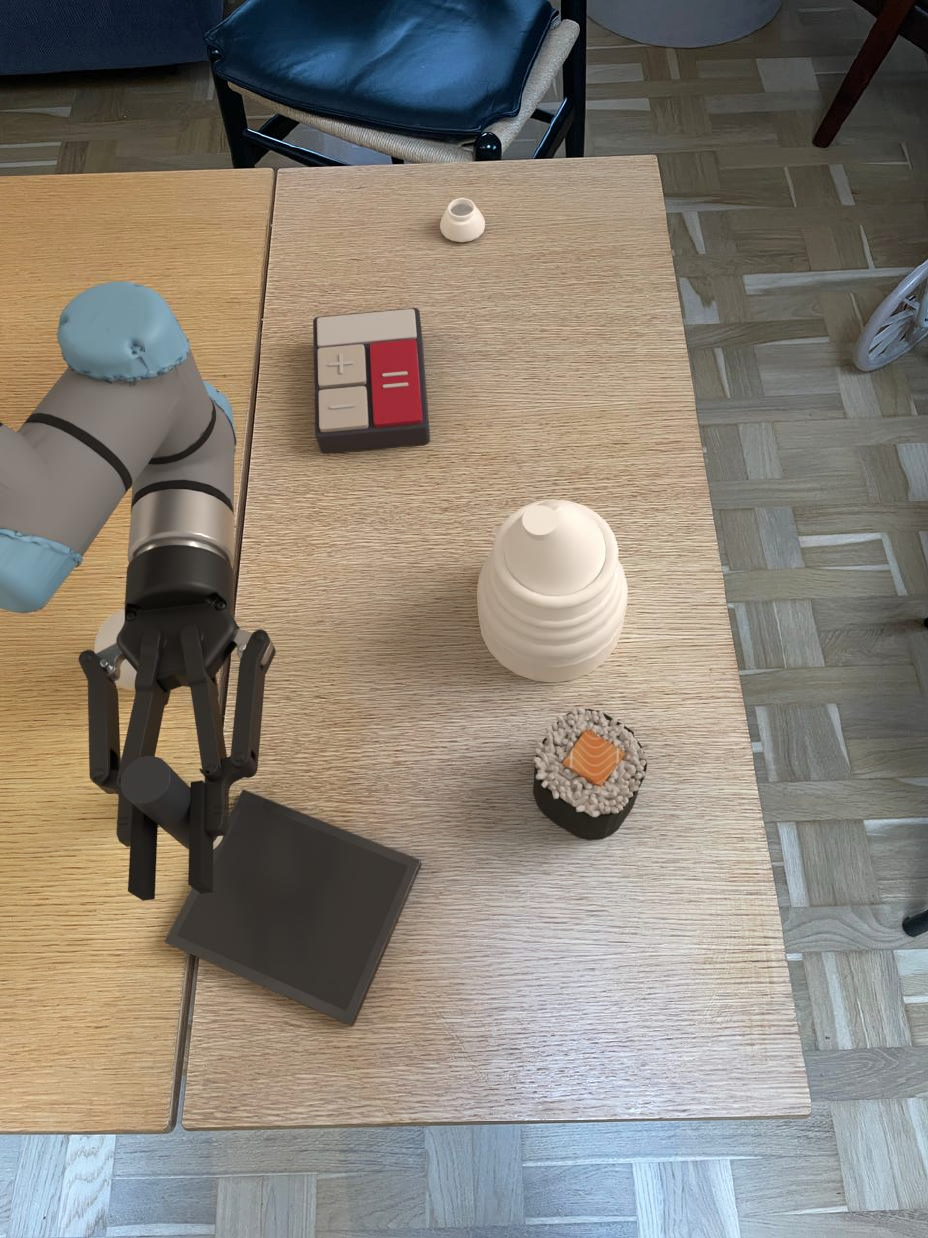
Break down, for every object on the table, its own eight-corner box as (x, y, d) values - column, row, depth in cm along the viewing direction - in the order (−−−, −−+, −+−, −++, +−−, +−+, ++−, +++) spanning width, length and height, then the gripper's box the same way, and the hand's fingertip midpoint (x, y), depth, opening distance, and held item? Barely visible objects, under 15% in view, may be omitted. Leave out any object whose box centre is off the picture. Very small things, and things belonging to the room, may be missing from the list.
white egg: (197, 695, 86) (171, 660, 79) (113, 711, 86) (80, 677, 79) (191, 597, 91) (166, 556, 84) (111, 612, 90) (79, 572, 84)
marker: (174, 845, 69) (110, 793, 58) (195, 806, 70) (136, 748, 59) (211, 860, 68) (154, 811, 58) (231, 821, 69) (179, 765, 59)
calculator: (313, 432, 94) (311, 311, 100) (321, 458, 98) (318, 339, 104) (427, 422, 94) (418, 301, 100) (431, 448, 98) (421, 329, 104)
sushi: (567, 724, 83) (572, 686, 76) (654, 777, 81) (667, 744, 74) (514, 801, 80) (514, 769, 73) (602, 858, 78) (611, 832, 71)
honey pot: (556, 711, 84) (566, 613, 68) (449, 620, 88) (433, 508, 72) (652, 612, 88) (682, 497, 72) (544, 530, 92) (550, 405, 76)
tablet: (168, 944, 76) (162, 941, 75) (246, 793, 82) (242, 788, 80) (353, 1027, 73) (350, 1025, 72) (422, 863, 78) (420, 860, 77)
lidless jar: (436, 241, 110) (479, 247, 110) (434, 220, 108) (478, 225, 107) (446, 210, 112) (489, 216, 112) (445, 189, 110) (488, 194, 109)
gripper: (300, 579, 75) (311, 889, 64) (91, 604, 75) (67, 919, 64) (279, 526, 68) (287, 862, 57) (50, 553, 68) (14, 894, 57)
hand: (171, 891), depth 61 cm, fingers closed on marker, 3 cm apart
